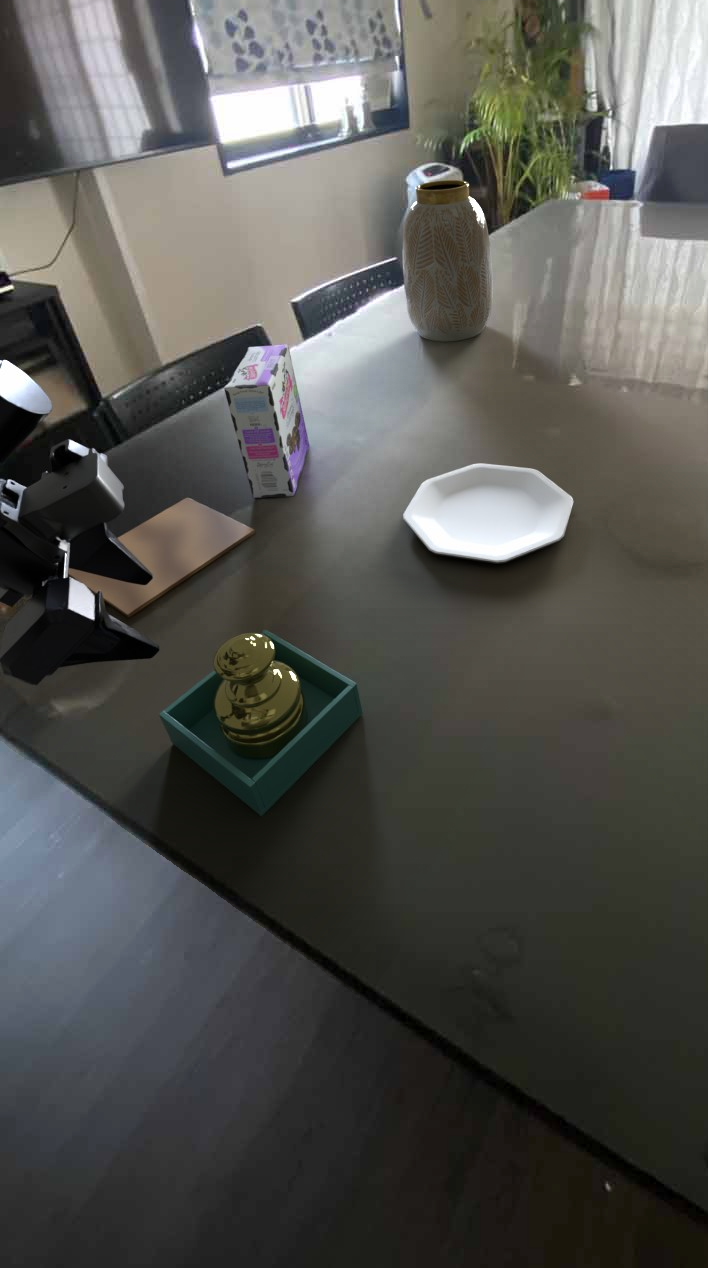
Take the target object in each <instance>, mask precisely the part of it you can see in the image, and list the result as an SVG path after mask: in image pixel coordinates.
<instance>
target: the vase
mask: <svg viewBox="0 0 708 1268" xmlns="http://www.w3.org/2000/svg"><path fill="white" fill-rule="evenodd" d="M415 196H416V200H415V201H414V202H413V203H412V205H411V206H410V208H409V210H408V211H407V213H406V215H405V218H404V222H403V230H402V231H403V232H402V272H403V287H404V294H405V295H404V298H405V304H406V305H405V306H406V311H407V315H408V317H409V320H410V322H411V324H412V326H413V327H414V329H415V330H416V332H417V334H418V335H419V336H420V337H422V338H423V339H426V340H429V341H435V342H458V341H463V340H467V339H471V338H473V337H476V336H477V335H479V334H481V333H482V332H483V331H484V330H485V328H486V326H487V324H488V322H489V319H490V317H491V315H492V312H493V311H492V310H493V304H494V303H493V301H494V297H493V296H494V281H493V279H494V278H493V262H492V261H493V260H492V250H491V249H492V248H491V242H490V236H489V229H488V225H487V220H486V216H485V214H484V212H483V209H482V208H481V206H480V205H479V203H478V202H477V201H476V200H475V198H473V197H472V196H470V183H469V181H466V180H462V179H446V180H445V179H443V180H434V181H429V182H423V183H420V184H419V185H416V186H415Z"/></svg>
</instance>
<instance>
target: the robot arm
mask: <svg viewBox="0 0 708 1268" xmlns="http://www.w3.org/2000/svg"><path fill="white" fill-rule="evenodd" d="M53 407H54V406H53V403H52V401H51V398H50V397H49V396H48V394H47V392H45V390H44V389H43V388H42V387H41V385H39V384H38V383H37V381H36V380H34V379H33V378H32V377H31V376H30V375H28V374H27V373H26V372H25V371H24V370H21V368H19V367H17V366H16V365H15V364H13V363H11V362H10V361H8V360H6V359H3V360H0V468H1V467H2V466H3V465H4V464H5V463H6V461H7V460H8V459H9V458H10V457H11V456H12V455H13V454H14V453H15V452H16V451H17V450H18V449H19V448H20V446H22V444H23V443H24V442H25V441H26V440H27V439H28V437H29V436H30V435H32V433H33V432H34V431H35V430H36V429H37V428H38V426H39V425H41V424H42V423H43V421H44V420H45V419H46V418H47V417H48V416H49V415H50V413H51V412H52V411H53V409H54V408H53ZM49 464H50V469H51V472H48V470H46V471H44V472H41V478H40V480H38V481H36V482H34V483H32V484H31V485H29V486H25V485H21V484H20V483H18V482H16V481H15V480H12V479H7V480H5V479H4V478H0V603H2V604H4V605H7V606H8V607H10V608H13V607H14V606H15V605H16V604H17V603H18V602H19V601H20V600H21V599H22V598H23V596H27V597H30V596H31V597H30V599H29V600H28V601H27V602H26V603H25V604H24V605H23V606H22V607H21V608H20V609H19V610H18V611H17V612H16V613H15V614H14V615H13V617H12V618H11V619H10V620H9V621H7V623H6V624H4V631H3V635H2V641H1V647H0V667H1V670H2V673H3V675H4V676H6V677H9V678H12V679H15V680H17V681H20V682H22V683H26V684H27V685H31V686H38V685H39V684H40V683H41V682H42V681H43V680H44V679H45V678H46V677H50V676H52V675H53V674H54V673H56V672H57V671H58V669H59V668H66V667H72V666H78V665H79V666H80V665H85V664H92V663H103V662H104V663H105V662H120V661H135V660H136V661H137V660H151V659H153V658H154V657H155V656H156V655H157V654H158V653H159V652H160V650H161V649H160V645H159V644H158V643H156V642H155V641H153V640H152V639H150V638H149V637H147V636H146V635H144V634H143V633H141V632H139V631H138V630H137V629H135V628H132V627H131V626H129V625H128V624H126V623H124V622H122V621H120V620H119V619H118V618H116V617H114V616H112V615H111V614H109V613H108V612H107V609H106V605H105V601H104V600H103V595H102V592H101V591H100V590H99V591H98V592H97V593H96V594H94V593H93V592H91V591H90V590H89V589H88V587H87V586H86V585H85V584H83V583H81V582H79V581H77V580H75V579H73V578H71V577H69V576H68V568H71V569H75V570H79V571H83V572H87V573H91V574H95V575H99V576H103V577H107V578H111V579H115V580H119V581H124V582H128V583H133V584H139V585H147V584H148V583H149V582H150V581H151V580H152V579H153V575H152V573H151V572H150V571H149V570H148V569H147V568H146V567H145V566H144V565H143V564H142V563H141V562H140V561H139V560H138V559H137V558H136V557H135V556H134V555H133V554H132V553H131V552H130V551H129V550H128V549H127V548H126V547H125V546H124V545H123V544H122V543H121V542H120V541H119V540H118V537H117V536H116V535H115V534H114V533H113V532H112V530H111V529H110V528H109V527H108V525H107V524H108V523H110V522H112V521H114V520H116V518H118V517H119V516H121V514H122V513H123V512H124V510H125V501H124V499H123V498H124V497H123V491H124V490H125V486H124V484H123V483H122V482H121V480H120V479H119V478H118V477H117V475H116V474H115V473H114V472H113V471H112V469H111V468H110V467H109V457H108V456H107V454H104V453H101V452H100V453H99V452H98V451H97V450H96V449H95V448H94V447H91V448H89V447H86V446H84V445H82V444H80V443H78V442H75V441H74V440H72V439H70V438H69V439H68V438H67V439H65V440H63V441H61V442H59V443H57V444H55V445H53V446H52V447H51V448H50V454H49Z"/></svg>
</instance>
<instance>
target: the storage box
mask: <svg viewBox="0 0 708 1268" xmlns="http://www.w3.org/2000/svg"><path fill="white" fill-rule="evenodd" d="M260 634H263V635H265V636H267V637H268V638H270V639H271V641H272V642H273V644H274V647H275V657H274V660H276V661H280V662H282V663H285V664H287V665H288V666H290V667H291V668H292V669H293V670H294V671H295V672H296V674H297V675H298V678H299V680H300V685H301V690H302V692H303V695H304V700H305V705H306V709H307V722H306V726H305V728H304V729H303V730H302V731H301V732H300V733H299V734H298V735H297V736H296V737H295V738H294V739H293V740H292V741H290V742H289V743H288V744H287V745H286V746H285V747H284V748H283V749H282V750H281V751H280V752H279V753H278V754H276V755H273V756H270V757H266V758H247V757H243V756H241V755H239V754H237V753H235V752H234V751H233V750H232V749H231V748H230V747H229V745H228V743H227V741H226V739H225V736H224V734H223V733H222V731H221V729H220V724H219V721H218V720H217V718H216V716H215V713H214V709H213V700H214V696H215V693H216V690H217V688H218V686H219V685H220V683H221V682H222V681H223V680H224V679H222V678H221V677H220V676H218V674H217V673H216V671H215V669H213V670H212V671H211V672H210V673H209V674H207V675H206V676H205V677H204V678H202V679H201V680H200V681H199V682H197V683H196V684H195V685H193V686H192V687H190V689H189V690H188V691H186V692H185V693H184V694H182V695H181V696H180V697H179V698H177V699H176V700H175V701H173V702H172V703H170V705H168V706H167V707H166V708H165V709H164V710H162V711H161V712H160V713H159V714H158V716H159V718H160V720H161V723H162V725H163V726H164V728H165V731H166V733H167V735H168V737H169V739H170V742H171V743H172V744H173V746H175V747H176V748H178V749H179V751H181V752H182V753H183V754H185V755H186V756H187V757H188V758H189V759H191V760H192V761H193V762H195V763H196V765H198V766H200V767H201V768H202V769H203V770H204V771H206V772H207V773H208V774H209V775H210V776H211V777H213V778H214V779H215V780H216V781H217V782H219V783H220V784H221V785H222V786H224V787H225V788H226V789H228V790H229V791H230V792H231V793H232V794H233V795H235V796H236V797H237V798H238V799H239V800H241V801H242V802H243V803H244V804H246V805H247V807H249V808H251V810H253V811H254V812H255V813H256V814H258V815H259V816H260V817H263V816H264V815H265V814H266V813H267V812H268V811H269V810H270V809H271V808H272V807H273V806H274V805H275V804H276V803H277V801H279V799H281V797H282V796H283V795H284V794H285V793H286V792H287V791H288V790H289V789H290V788H292V786H293V785H294V784H295V783H296V782H298V780H299V779H300V778H301V777H302V776H303V775H304V774H305V773H306V772H307V771H308V770H309V769H310V767H312V766H313V765H314V764H315V763H316V762H317V761H318V760H319V758H321V756H323V755H324V754H325V753H326V751H328V750H329V748H330V747H331V746H332V745H333V744H335V743H336V741H337V740H338V739H339V738H340V737H341V736H342V735H343V734H344V733H345V732H347V730H349V728H350V727H351V726H352V725H353V724H354V723H355V722H356V721H357V720H358V719H359V718H360V717H361V716H362V715H363V713H364V712H363V707H362V702H361V698H360V694H359V688H358V684H357V683H356V682H355V681H353V680H351V679H350V678H348V677H346V676H345V675H344V674H343V675H342V673H339V672H338V671H336V670H335V669H333V668H331V667H329V666H328V665H326V664H324V663H322V662H321V661H319V660H317V659H316V658H314V657H313V656H311V655H309V654H307V653H306V652H304V651H303V650H302V649H299V648H297V647H296V646H294V645H292V644H291V643H289V642H287V641H286V640H284V639H282V638H281V637H279V636H277V635H276V634H275V633H272V632H270V631H269V630H267V629H264V630H262V631H261V632H260Z"/></svg>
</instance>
